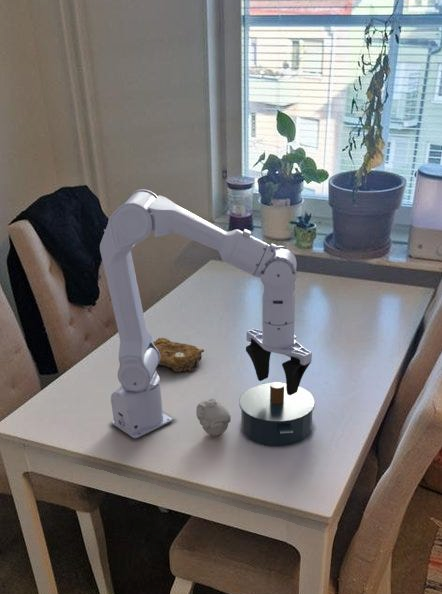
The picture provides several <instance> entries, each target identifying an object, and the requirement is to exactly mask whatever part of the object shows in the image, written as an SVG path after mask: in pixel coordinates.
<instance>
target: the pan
mask: <svg viewBox="0 0 442 594" xmlns="http://www.w3.org/2000/svg"><path fill="white" fill-rule="evenodd" d="M266 383H267V382H264V383H263V382H262V384H266ZM240 411H241V412H240V413H241V414H240V415H241V428H242V432H243V434H244V436H245V437H246V438H247V439H249V440H250V441H251V442H253V443H256V444H258V445H261V446H266V447H272V448H273V447H276V448H278V447H281V448H282V447H288V446H289V447H290V446H293V445H296V444H299V443H301V442H303V441H305V440H306V439H307V438H308V437H309V435H310V434H311V432H312V431H311V430H312V426H313V411H312V412H311V413H310V414H309V415H308V416H306V417H305V418H303V419H300V420H298V421H294V422H289V423H266V422H261V421H258V420H255V419H253V418H250V417H249V416H247V415H246V414H245V413H244V412H243V411H242V410H241V409H240Z"/></svg>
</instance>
